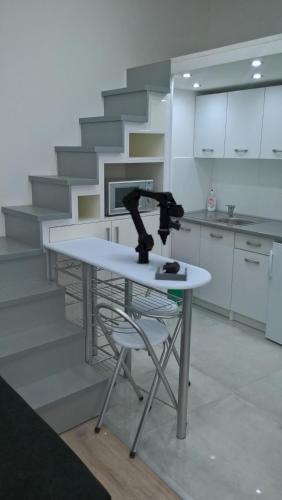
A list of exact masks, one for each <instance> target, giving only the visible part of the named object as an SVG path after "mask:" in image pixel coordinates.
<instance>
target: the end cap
mask: <svg viewBox="0 0 282 500" xmlns="http://www.w3.org/2000/svg"><path fill="white" fill-rule="evenodd" d="M180 270H181V265H180V263H179V262H178V261H175V260H174V261H173V262H171V261H169V262H168V261H167V262H166V261H165V263H164V264H163V265H162V273H168V274H179V272H180Z"/></svg>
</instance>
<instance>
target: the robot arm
mask: <svg viewBox="0 0 282 500" xmlns="http://www.w3.org/2000/svg"><path fill="white" fill-rule="evenodd" d="M142 197H144V198H146V199H147V198H148V199H151V200H155V201H156V202H157V203H158V204H156V207H157V208H159V219H158V221H159V225H158V229H157V235H158V236H159V238H160V241H161V243H162V245H163V246H166V244H167V240H168V236H170V234H171V230H172V229H174V230H175V231H178V232H179V231H180V228H181V226H182V224H181V223H180V220H178V219H181V218H183V217H184V215H185V210H184V207H183V204H177V203H178V202H177V201H176V200H175V198H174V196H173V193H172V192H171V191H156V190H151V189H146V188H143V187H135V188H134V189H133V190H132V191H130V192H129V193H127V194H126V195H123V198H122V199H121V201H122V204H123V206H124V208H125V209H126V210H127V211H128V212H129V215H130V217H131V220H132V223H133V225H134V228H135V230H136V233H137V235H138V236H137V243H138V244H137V245H136V247H134V251H135V253H138V256H137V257H138V260H137V262H136V264H147V265H148V264H150V262H151V260H150V259H149V257H150V255H149V254H150V253H149V252H152V250H153V248H154V246H155V239H154V237H153V234H149V233H148V231H147V229H146V227H145V224H144V222H143V219H142V217H141V213H140V211H139V201H140V199H141V198H142ZM172 218H178V219H176V220H172Z"/></svg>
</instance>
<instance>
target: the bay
mask: <svg viewBox="0 0 282 500" xmlns="http://www.w3.org/2000/svg"><path fill="white" fill-rule="evenodd" d="M187 273H188V267H184V273H177V274H168V273H163V272H160V266H157V268H156V270H155V274H154V280H155V281H156V280H158V281H159V280H160V281H179V282H186V281H187V275H188V274H187Z"/></svg>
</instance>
